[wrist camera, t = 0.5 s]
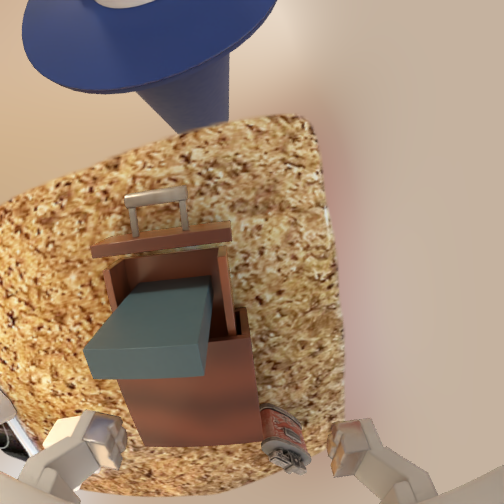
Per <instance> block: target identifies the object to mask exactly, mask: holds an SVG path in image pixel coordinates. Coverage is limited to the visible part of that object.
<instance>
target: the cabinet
mask: <svg viewBox="0 0 504 504" xmlns="http://www.w3.org/2000/svg"><path fill="white" fill-rule="evenodd" d="M235 316H236V323H237V330H238V335H236V336H227V337H218V338H209V339H208V348H207V357H206V366H205V375H204V376H196V377H181V378H161V379H117V381H118V384H119V387H120V389H121V392H122V394H123V397H124V399H125V402H126V404H127V407H128V409H129V412H130V414H131V417H132V419H133V421H134V423H135V426H136V428H137V430H138V432H139V435H140V437H141V439H142V441H143V443H144V445H145V446H147V447H196V446H216V445H230V444H241V443H251V442H259V441H264V439H263V431H262V424H261V416H260V408H259V401H258V393H257V385H256V377H255V369H254V361H253V353H252V345H251V337H250V330H249V324H248V317H247V310H246V307H245V308H237V309H235Z"/></svg>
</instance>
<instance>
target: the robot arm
mask: <svg viewBox="0 0 504 504" xmlns="http://www.w3.org/2000/svg"><path fill="white" fill-rule="evenodd" d="M95 1H96V2H97V3H98V4H100V5H102V6H105V7H109V8H130V7H136V6H140V5H143V4H146V3H149V2H152V1H154V0H95ZM122 423H123V422H122V419H121V417H118V416H114V415H109V414H104V413H100V412H96V411H91V410H87V409H86V410H85V411H83V413H82V415H81V417H80V419H79V421H78V423H77V425H76V427H75V429H74V431H73V433H72V435H71V437H69V436H67V437H65V438H63V439H62V440H60V441H58V442H56V443H55V444H53V445H51V446H50V447H48V448H46V449H44V450H43V451H41V452H39V453H37V454H35V455H34V456H32V457H30V458H28V460H27V462H26V464H25V466H24V467H23V469H22V471H21V473H20V475H19V477H18V479H15V478H13V477H11V476H9V475H7V474H5V473H3V472H1V471H0V504H80V502H81V501H80V499H79V497H78V496H77V495H76V494H75V493H74V492H73V490H74V489H75V488H76V487H77V486H79V485H80V484H81V483H82V482H83V481H85V480H86V479H87V478H88V477H89V476H91V475H92V474H93V473H94V472H95V471H96V470H98V469H99V468H100V467H105V468H110V469H115V470H119V468H120V465H121V462H122V459H123V458H122V456H121V453H122V452H123V451H124V450H125V449H126V446H127V432H126V429H125V428H123V427H122ZM331 432H332V433H331V434H330V435H328V439H327V452H328V456H329V457H330V458H331V459H333V460H332V463H331V469H332V472H333V476H334V478H335V477H342V476H349V475H354V476H355V477H356V478H357V479H358V480H359V481H360V482H361V483H363V484H364V485H365V486H366V487H367V488H368V489H369V490H370V491H371V492H373V493H374V494H375V495H376V496H377V497H378V498H380V500H382V501H381V502H380V503H379V504H504V465H502V466H500V467H497V468H496V469H494V470H492V471H490V472H489V473H487V474H485V475H483V476H481V477H479V478H477V479H475V480H472V481H470V482H468V483H466V484H464V485H462V486H460V487H457V488H455V489H453V490H450V491H448V492H445V493H443V494H441V495H438V494H437V492H436V489H435V487H434V485H433V483H432V481H431V478H430V476H429V474H428V473H427V472H426V471H424V470H423V469H421V468H419V467H418V466H416V465H415V464H413V463H411V462H410V461H408V460H407V459H405V458H403V457H402V456H400V455H399V454H397V453H396V452H394V451H392V450H391V449H390V448H388V447H383V445H382V442H381V440H380V438H379V436H378V433H377V431H376V429H375V426H374V424H373V421H372V419H370V418H366V419H359V420H350V421H343V422H335V423H333V424H332V426H331Z"/></svg>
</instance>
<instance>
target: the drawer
mask: <svg viewBox="0 0 504 504" xmlns="http://www.w3.org/2000/svg"><path fill="white" fill-rule="evenodd" d="M187 199H188V192H187V187H186V185H182V186H175V187H168V188H161V189H155V190H149V191H143V192H137V193H131V194H126V195H125V197H124V203H125V206H126V208H127V209H129V216H130V223H131V229H132V233H131V234H124V235H117V236H111V237H109V238H107V239H105V240H102V241H100V242H98V243H96V244H94V245H92V246H90V248H91V253H92V258H100V257H108V256H116V255H123V254H131V253H139V252H147V251H155V250H163V249H171V248H179V247H187V246H195V245H204V244H212V243H220V242H229V241H232V231H231V222H230V221H222V222H213V223H205V224H197V225H189V222H188V214H187V206H186V200H187ZM175 201H179V207H180V215H181V222H182V227H174V228H166V229H159V230H152V231H145V232H139V227H138V220H137V213H136V208H135V207H142V206H148V205H155V204H161V203H168V202H175ZM206 275H211V281H212V287H213V294H214V298H213V306H212V314H211V322H210V331H209V338H218V337H227V336H236V335H238V330H237V323H236V316H235V308H234V301H233V293H232V286H231V278H230V270H229V262H228V254H227V246H226V245H224V246H215V247H207V248H199V249H190V250H182V251H174V252H166V253H158V254H150V255H141V256H133V257H125V258H120V259H118V260H117V261H115V262H114V263H113V264H111V265H110V266H108V267H107V268H106V269H104V270H103V276H104V280H105V285H106V289H107V293H108V298H109V302H110V306H111V310H112V314H113V312H114V311H115V310H116V309H117V308H118V306H119V305H120V304H121V303H122V302H123V301H124V299H125V298H126V297H127V296H128V295H129V294H130V293H131V291H132V290H133V289H134V288H135V287H136V286H137V285H138V283H142V282H152V281H161V280H170V279H179V278H188V277H197V276H206Z"/></svg>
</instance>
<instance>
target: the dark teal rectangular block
mask: <svg viewBox="0 0 504 504" xmlns="http://www.w3.org/2000/svg"><path fill="white" fill-rule="evenodd" d="M213 298H214V294H213V287H212V281H211V275H206V276H197V277H188V278H179V279H170V280H161V281H152V282H142V283H138V285H137V286H136V287H135V288H134V289H133V290H132V291H131V293H130V294H129V295H128V296H127V297H126V298H125V299H124V301H123V302H122V303H121V304H120V305H119V306H118V308H117V309H116V310H115V311H114V312H113V314H112V315H111V316H110V317H109V318H108V319H107V321H106V322H105V323H104V324H103V325H102V327H101V328H100V329H99V330H98V332H97V333H96V334H95V335H94V336H93V338H92V339H91V340H90V341H89V343H88V344H87V345H86V346H85V348H84V349H83V352H84V355H85V358H86V360H87V363H88V366H89V369H90V371H91V374H92V376H93V379H161V378H181V377H196V376H204V375H205V366H206V357H207V348H208V339H209V331H210V322H211V314H212V306H213Z"/></svg>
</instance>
